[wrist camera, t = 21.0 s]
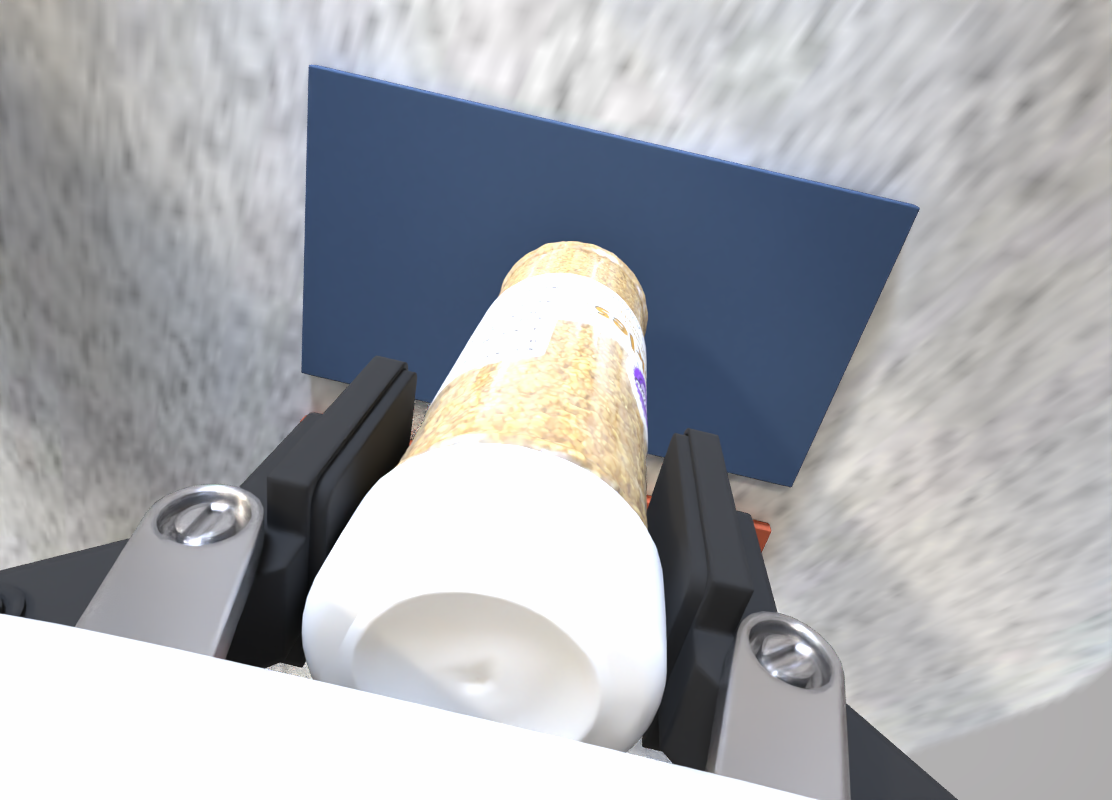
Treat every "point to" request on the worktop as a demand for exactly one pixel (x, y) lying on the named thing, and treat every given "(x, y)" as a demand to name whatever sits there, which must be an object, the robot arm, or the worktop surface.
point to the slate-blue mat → (595, 218)
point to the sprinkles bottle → (515, 525)
